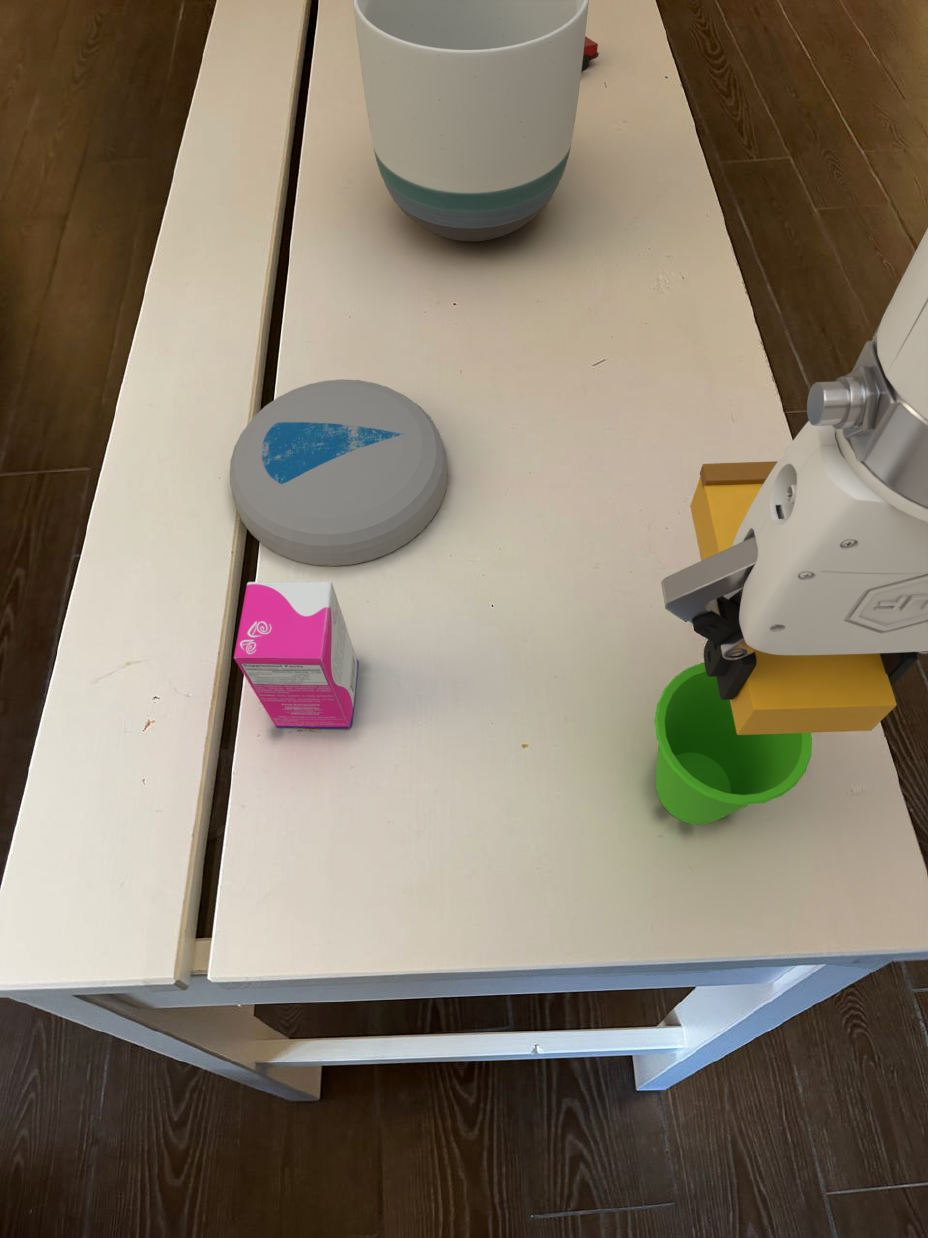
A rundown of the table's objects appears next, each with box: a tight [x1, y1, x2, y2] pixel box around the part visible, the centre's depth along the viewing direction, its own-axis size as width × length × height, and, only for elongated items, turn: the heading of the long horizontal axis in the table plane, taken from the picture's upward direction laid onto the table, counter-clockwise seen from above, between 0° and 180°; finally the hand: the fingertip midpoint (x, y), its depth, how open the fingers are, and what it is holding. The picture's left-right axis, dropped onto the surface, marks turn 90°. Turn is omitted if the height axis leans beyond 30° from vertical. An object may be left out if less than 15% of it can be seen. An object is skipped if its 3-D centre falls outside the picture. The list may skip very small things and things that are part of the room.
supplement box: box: [233, 581, 359, 730], centre depth 58 cm, size 6×6×12 cm
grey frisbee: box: [229, 379, 449, 567], centre depth 71 cm, size 18×18×5 cm
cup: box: [654, 662, 813, 826], centre depth 54 cm, size 9×9×11 cm
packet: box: [689, 460, 897, 735], centre depth 43 cm, size 14×6×3 cm, turn 2°
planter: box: [352, 0, 590, 242], centre depth 82 cm, size 20×20×21 cm
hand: (795, 669), depth 41 cm, fingers closed on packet, 6 cm apart
